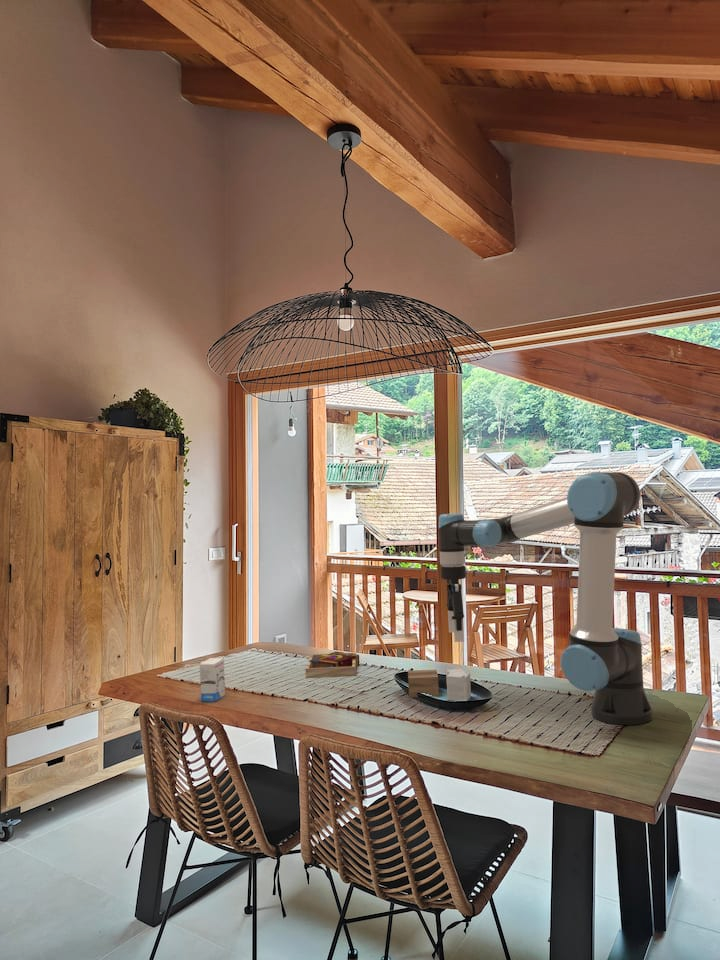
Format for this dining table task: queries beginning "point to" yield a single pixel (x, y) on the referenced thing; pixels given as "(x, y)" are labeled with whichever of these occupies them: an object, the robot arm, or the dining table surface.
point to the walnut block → (423, 682)
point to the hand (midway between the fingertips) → (456, 636)
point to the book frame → (329, 669)
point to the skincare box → (458, 686)
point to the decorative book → (335, 660)
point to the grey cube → (453, 671)
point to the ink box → (212, 679)
